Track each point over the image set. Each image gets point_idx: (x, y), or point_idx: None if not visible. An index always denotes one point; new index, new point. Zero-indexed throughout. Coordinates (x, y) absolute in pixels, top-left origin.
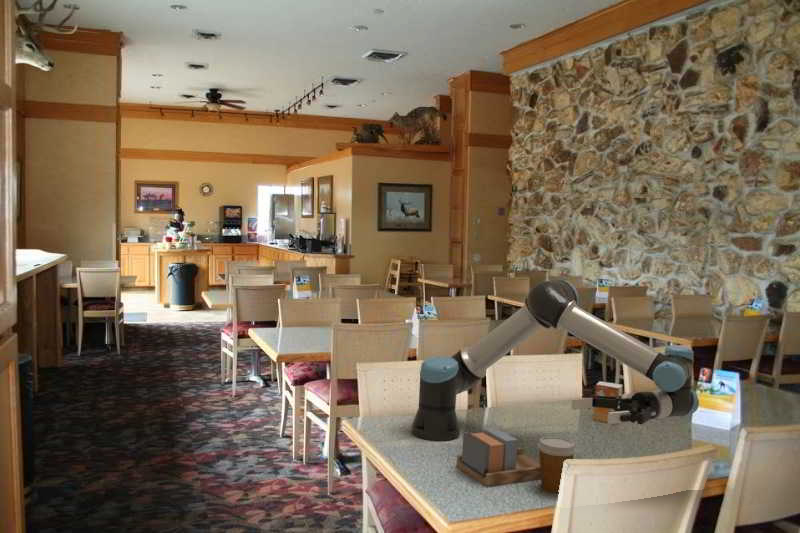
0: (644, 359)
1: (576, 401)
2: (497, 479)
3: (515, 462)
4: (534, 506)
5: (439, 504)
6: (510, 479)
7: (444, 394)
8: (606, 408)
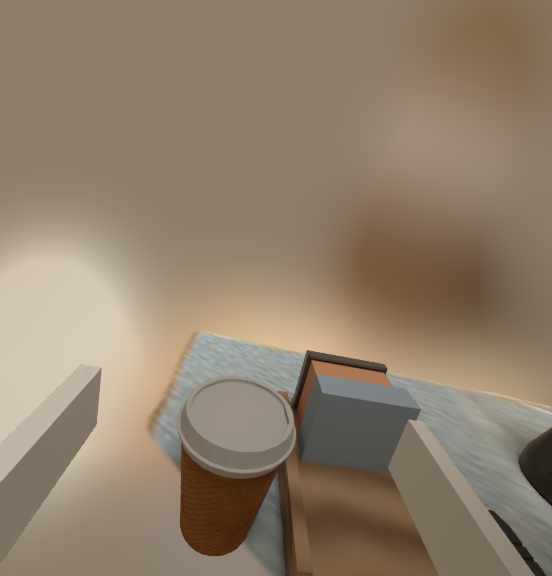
0: None
1: (413, 443)
2: None
3: (307, 438)
4: (167, 414)
5: (241, 345)
6: None
7: None
8: None
